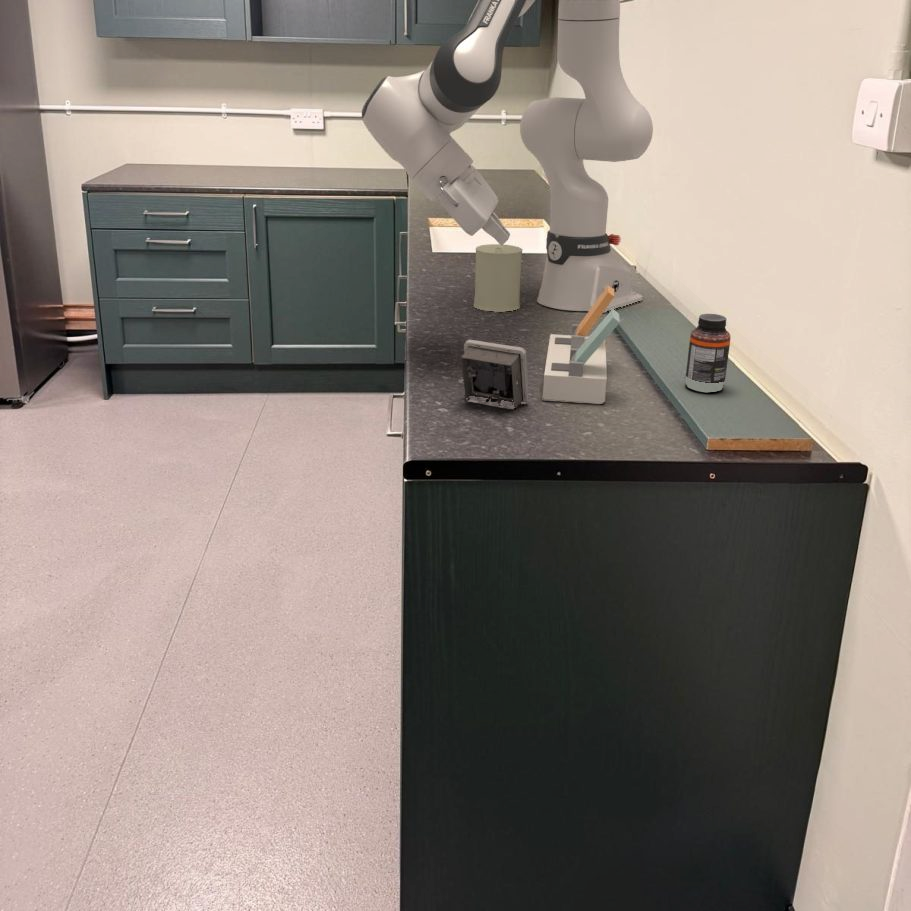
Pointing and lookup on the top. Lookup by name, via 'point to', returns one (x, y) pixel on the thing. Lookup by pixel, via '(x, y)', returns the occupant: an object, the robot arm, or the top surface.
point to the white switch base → (574, 371)
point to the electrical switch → (495, 371)
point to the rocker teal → (597, 337)
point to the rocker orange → (595, 312)
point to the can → (497, 277)
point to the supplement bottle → (708, 350)
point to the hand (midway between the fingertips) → (506, 240)
